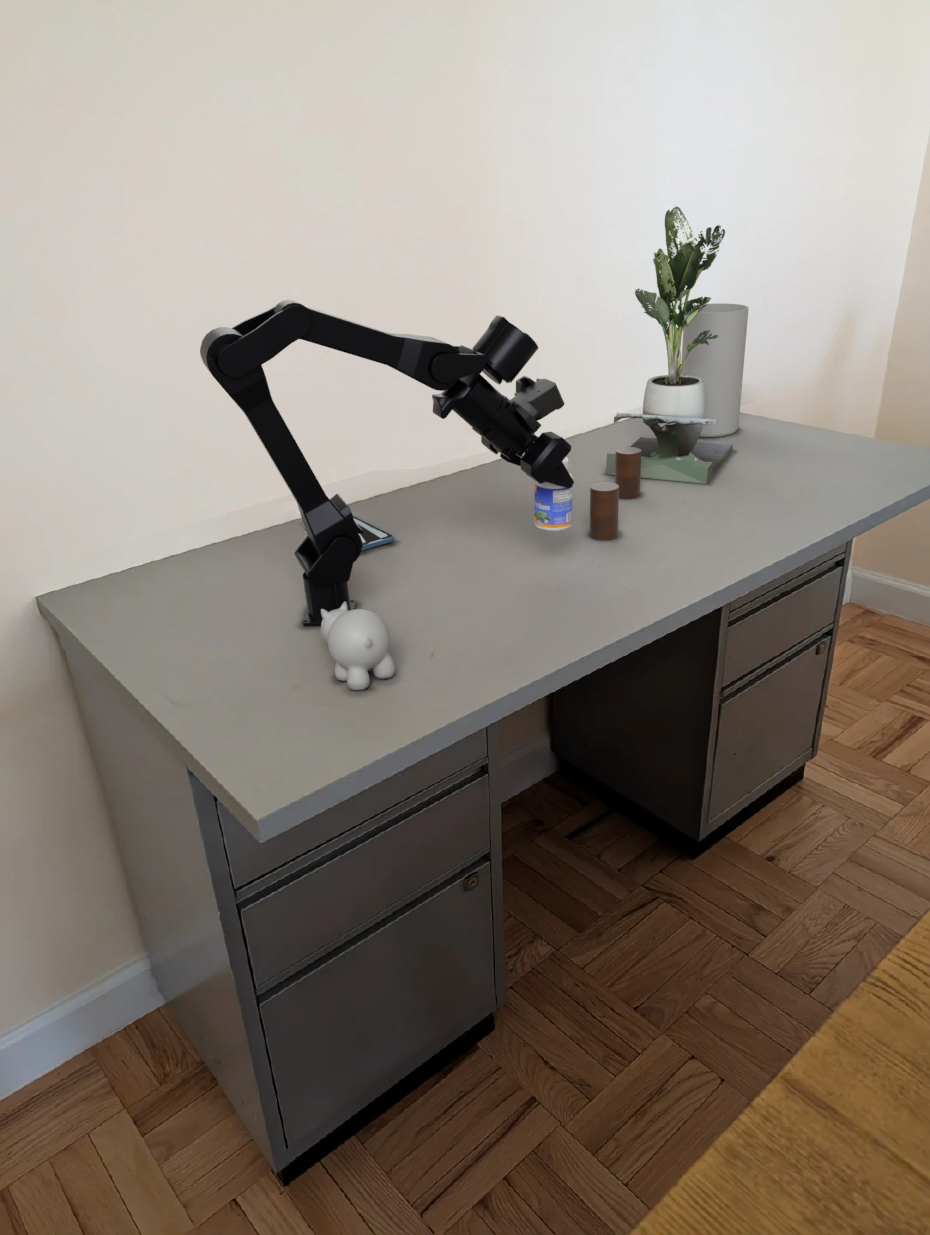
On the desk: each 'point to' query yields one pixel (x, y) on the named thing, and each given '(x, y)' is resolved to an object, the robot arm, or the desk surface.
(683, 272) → the potted plant
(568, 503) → the pill bottle
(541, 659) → the desk surface
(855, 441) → the desk surface
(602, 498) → the near peg
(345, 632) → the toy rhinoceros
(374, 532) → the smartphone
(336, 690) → the desk surface
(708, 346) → the cylinder vase
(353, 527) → the robot arm
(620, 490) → the far peg
